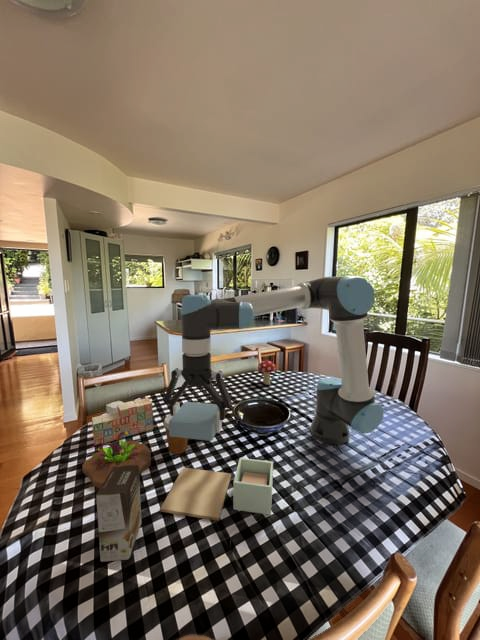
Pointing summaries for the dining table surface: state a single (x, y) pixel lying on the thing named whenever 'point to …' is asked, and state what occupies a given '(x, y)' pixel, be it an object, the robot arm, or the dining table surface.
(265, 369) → the decorative mushroom
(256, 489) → the storage box
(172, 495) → the cork mat
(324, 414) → the robot arm
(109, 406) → the skincare box
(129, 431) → the stack of blocks
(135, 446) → the plant
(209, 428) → the lid
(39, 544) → the dining table surface
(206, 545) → the dining table surface
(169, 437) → the disposable coffee cup
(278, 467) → the dining table surface
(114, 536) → the coffee box
